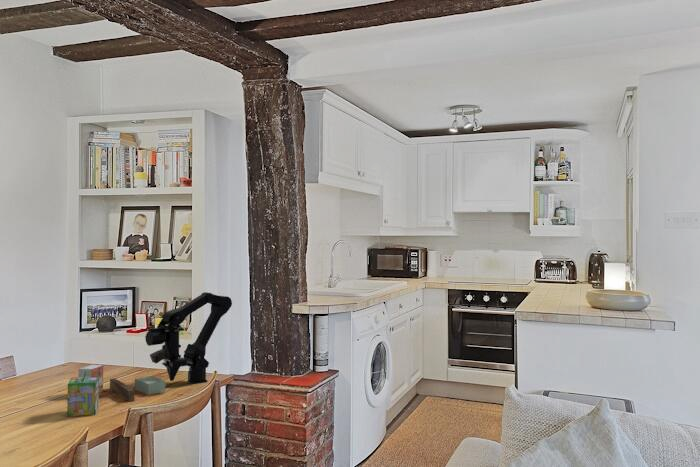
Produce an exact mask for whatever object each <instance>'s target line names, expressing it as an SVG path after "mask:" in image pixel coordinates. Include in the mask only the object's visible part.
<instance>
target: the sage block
mask: <svg viewBox="0 0 700 467" xmlns="http://www.w3.org/2000/svg"><path fill="white" fill-rule="evenodd" d="M134 390H136V391H138V392H140V393H143V394H144V395H145V394H146V395H148V396H149V395H154V394H155V395H156V394H159V393H165V392H166V380H163V379H162V378H158V377H155V376H152V375H148V376H142V377H138V378H134Z"/></svg>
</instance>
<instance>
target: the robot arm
mask: <svg viewBox="0 0 700 467" xmlns="http://www.w3.org/2000/svg"><path fill="white" fill-rule="evenodd" d="M206 304H210V313H209V316H208V317H207V319H206V321H205V323H204V325H203V327H202V328H201V331H200V332H199V334H198V336H197V337H196V340H195V341H194V342H193V343H192V344H191V343H188V344H187V346H186V348H185V350H184V351H183V357H182V355H181V354H180V348H181V347H182V345H181V344H180V332H182V331H185V328H183V327H182V326H181V324H182V323H183V322H184V321H185V320H186V319H187V317H188V316H190V315H191V314H193V313H194V312H197V310H199V309H200V308H202V307H204V306H205V305H206ZM232 305H233V302H232V299H231V297H229V296H227V295H226V296H225V295H217V294H214V293H211V292H206V291H205V292H202V293H201V294H200V295H198V296H196V297H195V298H193V299H192V300H190V301H188V302H187V303H185V304H184V305H182V306H180V307H177V308H173V309H170V310H168V311H166V312H164V313H163V314H162V319H161V320H160V322H159V323H158V324H157V326H156V327H149V328H148V329H147V330H148V331H147V332H146V334H145V336H144V340H145V343H146V345H147V346H157V345H161V349H159V350H156V351H154V352H152V353H150V354H149V357H150V360H151V362H152V363H154V364H159V363H160V362H161V361H163V362H162V363H161V364H162V366H164V367H165V368H166V370H167V371H166V372H167V375H168V378H169V381H171V382H173V381H175V378H176V376H177V373H178V371H179V370H180V368H181V367H186V366H187V367H189V368H188V371H187V382H188V383H191V384H193V385H194V384H200V383H201V384H202V383H207V382H208V381H209V380H208V379H207V368H208V367H209V365H210V362H209V361H208V359H206V358H205V356H206V347H207V345H208V343H209V340H210V339H211V338H212V336H213V333H214V332H215V329H216V328H217V326H218V324H219V322H220V320H221V318H222V317H223V316H224V315H225V314H227V313H228V311H229V310H230V309H231V308H232ZM181 349H182V348H181Z"/></svg>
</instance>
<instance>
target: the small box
mask: <svg viewBox="0 0 700 467" xmlns="http://www.w3.org/2000/svg"><path fill="white" fill-rule="evenodd" d="M87 369H88V370H87ZM86 370H87V374H86V377H98V376H99V393H98V394H100V393H103V392H104V365H102V364H90V365H87V366H84V367H80V368H78V377H84V374H85V371H86Z"/></svg>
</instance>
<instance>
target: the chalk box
mask: <svg viewBox="0 0 700 467" xmlns="http://www.w3.org/2000/svg"><path fill="white" fill-rule="evenodd" d="M87 370H88V369H87ZM87 370H86V371H85V374H84V377H79V376H78V377H77V376H76V377H71V379H70V380H69V382H68V383H67V410H66V411H67V413H66V416H67V418H71V417H83V416H84V417H85V416H86V417H87V416H95V415H96V414H97V413H98V410H99V394H100V393H99V376H98V377H86V374H87Z"/></svg>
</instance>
